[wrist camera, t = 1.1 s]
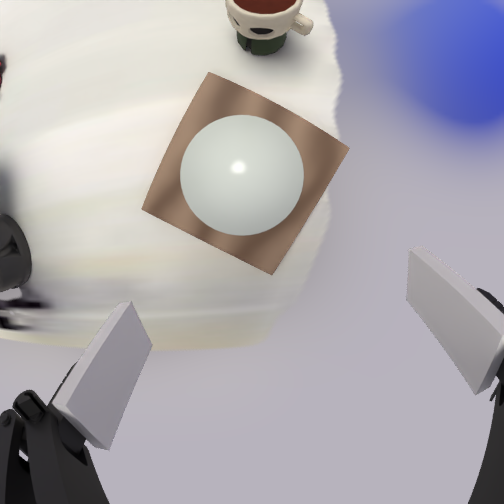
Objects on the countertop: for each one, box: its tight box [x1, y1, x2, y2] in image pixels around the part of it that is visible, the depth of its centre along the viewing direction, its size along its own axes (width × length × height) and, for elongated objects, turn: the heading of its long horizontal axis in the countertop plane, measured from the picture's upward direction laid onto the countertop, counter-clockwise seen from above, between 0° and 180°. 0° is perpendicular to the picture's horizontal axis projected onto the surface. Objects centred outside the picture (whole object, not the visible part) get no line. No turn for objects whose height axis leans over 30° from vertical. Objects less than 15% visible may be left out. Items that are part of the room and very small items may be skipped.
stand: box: [142, 72, 349, 275], centre depth 34 cm, size 20×20×2 cm
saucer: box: [180, 115, 304, 236], centre depth 33 cm, size 15×15×1 cm
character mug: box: [225, 0, 313, 55], centre depth 21 cm, size 11×7×13 cm, turn 57°
